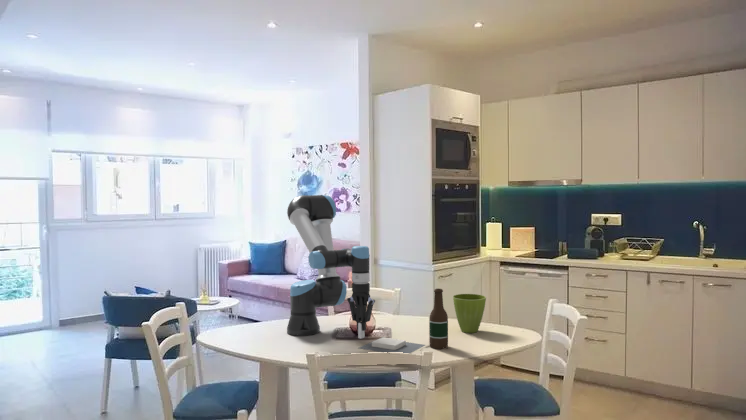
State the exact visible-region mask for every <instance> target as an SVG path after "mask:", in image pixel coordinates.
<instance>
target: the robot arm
mask: <svg viewBox="0 0 746 420" xmlns="http://www.w3.org/2000/svg"><path fill="white" fill-rule="evenodd" d="M286 210H287V212H286V213H287V218H288V221H290V224H292V225H293V226H294V227H295V229H296V230H297V232H298V234H299V235H300V238H301V239H302V241H303V243H304V245H305V247H306V249H307V250H308V252H309V255H308V263H309V266H310V268H311V269H313V270H317V274H318V276H317V277H316V278H315V280H313V279H307V280H306V279H305V280H299V281H296V282H294V283H292V284H291V285H290V289H289V290H290V293H289V299H290V300H289V301H290V302H289V303H290V305H289V306H290V307H289V308H290V316H289V321H288V322H287V326H286V327H287V328H286V333H287V334H288V335H290V336H299V337H300V336H301V337H302V336H313V335H316V334H319V333H320V332H321V326H320V324H319V320H318V317H317V313H316V311H317V309H318V308H326V307H335V306H340V305H342V304H344V302H345V301H346V299H347V302H348V304H349V308H350V313H351V314H350V315H351V318H352V319H351V320H352V321H354V322H355V323H356V330H357V334H358V335H357V337H358V339H361V340H362V339H364V338H366V336H365V334H366V333H365V332H366V330H367V323H368V322H370V321H371V318H372V312H373V307H374V305H375V303H376V300H375V299H373V298H371V295H370V290H371V289H370V288H371V285H370V284H371V283H370V281H371V280H370V277H371V276H370V248H369V247H368V246H367V245H354V246H352V247H351V248H342V249H335V250H334V244H333V234H332V228H331V224H333V221H334V218H335V217H336V215H337V206H336V202H335V200H334V199H333V197H331V196H330V195H328V194H326V195H325V194H324V195H323V194H316V195H314V194H313V195H305V194H302V195H298V196H296V197H294V198H293V199H292V200H291V201H290V203H289V204H288V207H287V209H286ZM342 267H343V268H346V267H350V268H351V281H352V284H351V292H352V294H351V296H350V297H348V298H346V297H347V293H348V291H347V285H346V282H345V280H342V279H341V276H340V274H338V273H337V268H342Z"/></svg>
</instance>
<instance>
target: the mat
mask: <svg viewBox="0 0 746 420" xmlns="http://www.w3.org/2000/svg"><path fill="white" fill-rule="evenodd" d="M378 339H379V338H378ZM378 339H376V340H378ZM372 342H373V341H371V342H368V343H366V344H363V345H361V346H359V347H358V349H360V350H366V351H367V350H368V351H371V352H378V353H379V352H380V353H384V352H403V353H410V354H412V353H414V352H415V351H417V350H419V349H421V348H424V347H425V346H426V344H423V343H422V344H421V343H414V342H409V341H406V345H405V346H402V347H400V348H398V349H396V350H391V349H385V348H379V347H372Z"/></svg>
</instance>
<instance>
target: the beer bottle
mask: <svg viewBox="0 0 746 420" xmlns="http://www.w3.org/2000/svg"><path fill="white" fill-rule="evenodd" d="M433 292H434V298H433V299H434V300H433V308H432V310H431V311H430V314H429V318H428V319H429V322H428V323H429V325H428V326H429V328H428V329H429V331H428V332H429V333H428V334H429V338H428V340H429V342H428V343H429V348H431V349H433V350H445V349H447V348H448V345H449V317H448V313H447V311H446V310H445V307H444V299H443V292H444V290H443V289H442V288H434V290H433Z"/></svg>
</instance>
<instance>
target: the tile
mask: <svg viewBox="0 0 746 420" xmlns="http://www.w3.org/2000/svg"><path fill="white" fill-rule="evenodd" d="M371 342H372V347H379V348H385V349H391V350H396V349H398V348H400V347H402V346H405V345H406V342H407V340H404V339H398V338H390V337H385V336H384V337H383V336H382V337H379V338H378V340H377V339H375V340H373V341H371Z"/></svg>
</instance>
